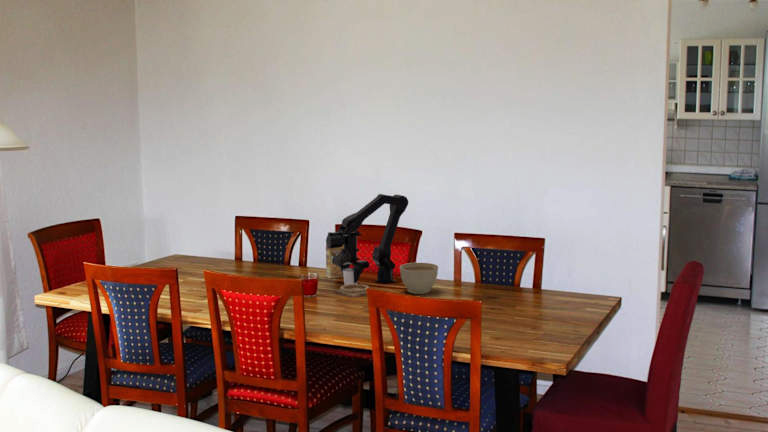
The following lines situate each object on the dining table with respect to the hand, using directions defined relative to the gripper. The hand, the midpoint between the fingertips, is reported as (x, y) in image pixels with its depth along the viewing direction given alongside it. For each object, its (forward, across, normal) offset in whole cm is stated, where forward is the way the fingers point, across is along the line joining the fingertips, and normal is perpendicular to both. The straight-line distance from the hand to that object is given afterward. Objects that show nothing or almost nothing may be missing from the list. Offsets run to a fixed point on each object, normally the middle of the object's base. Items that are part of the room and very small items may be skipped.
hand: (350, 281), depth 356 cm
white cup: (+2, 0, 0) cm, 2 cm away
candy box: (+2, -17, +6) cm, 18 cm away
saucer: (+2, +12, -8) cm, 14 cm away
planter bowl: (+2, +29, +13) cm, 32 cm away
